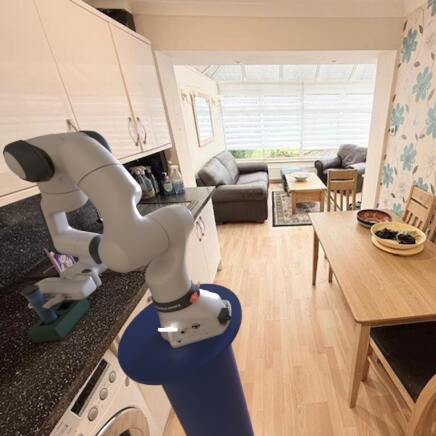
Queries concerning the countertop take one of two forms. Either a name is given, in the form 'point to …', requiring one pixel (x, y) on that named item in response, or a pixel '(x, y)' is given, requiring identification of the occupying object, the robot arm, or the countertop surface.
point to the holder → (59, 321)
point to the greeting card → (60, 261)
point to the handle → (39, 304)
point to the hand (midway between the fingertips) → (37, 307)
